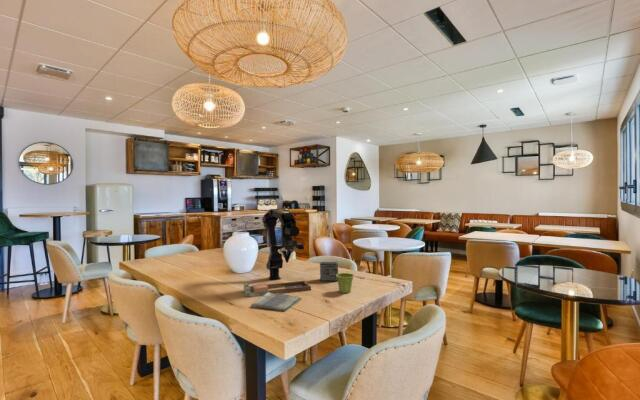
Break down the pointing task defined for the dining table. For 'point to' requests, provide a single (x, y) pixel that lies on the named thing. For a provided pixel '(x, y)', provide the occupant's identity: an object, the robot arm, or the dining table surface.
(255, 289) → the block
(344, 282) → the plant pot
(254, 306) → the dish towel
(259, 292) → the channel
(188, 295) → the dining table surface
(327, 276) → the small box
